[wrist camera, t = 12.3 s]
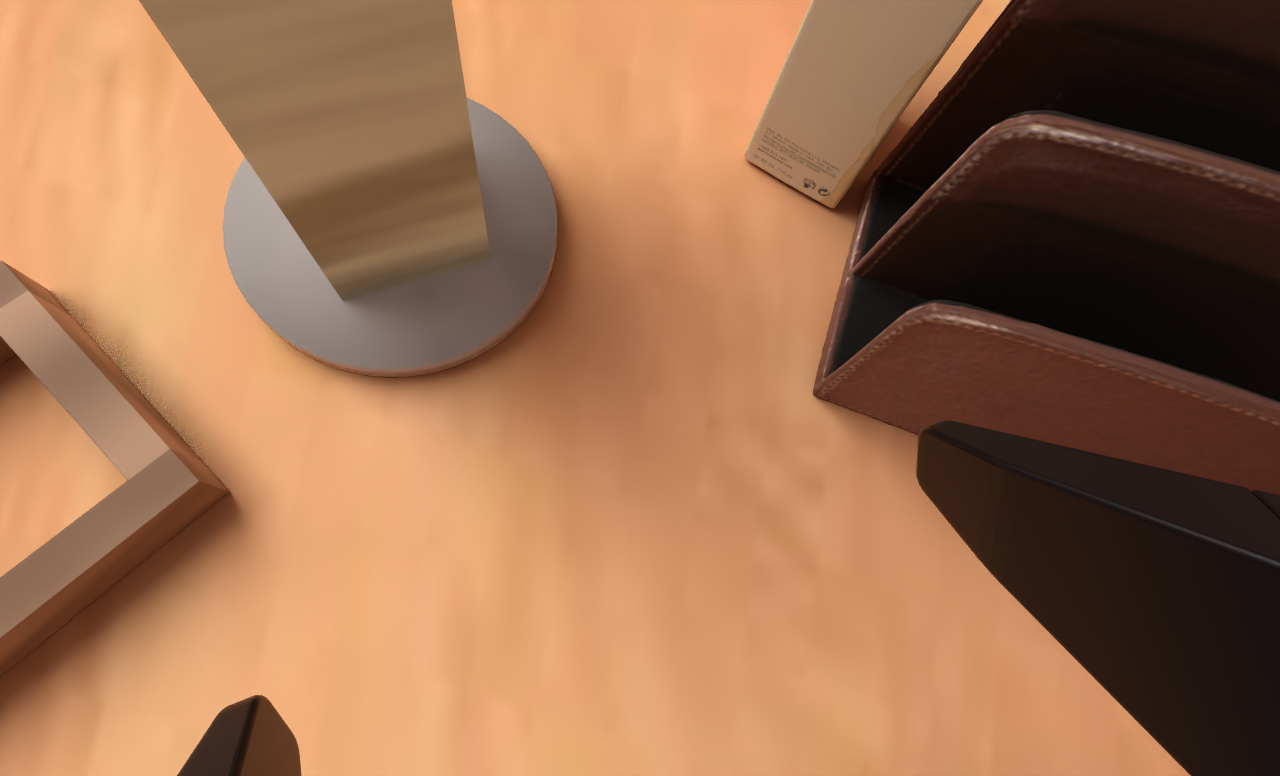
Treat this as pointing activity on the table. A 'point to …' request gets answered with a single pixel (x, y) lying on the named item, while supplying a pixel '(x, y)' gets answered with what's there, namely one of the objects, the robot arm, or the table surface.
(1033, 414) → the letter holder
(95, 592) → the pocket block
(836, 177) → the skincare box
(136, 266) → the table surface
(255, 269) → the coaster
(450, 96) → the tall khaki square post
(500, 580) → the table surface
